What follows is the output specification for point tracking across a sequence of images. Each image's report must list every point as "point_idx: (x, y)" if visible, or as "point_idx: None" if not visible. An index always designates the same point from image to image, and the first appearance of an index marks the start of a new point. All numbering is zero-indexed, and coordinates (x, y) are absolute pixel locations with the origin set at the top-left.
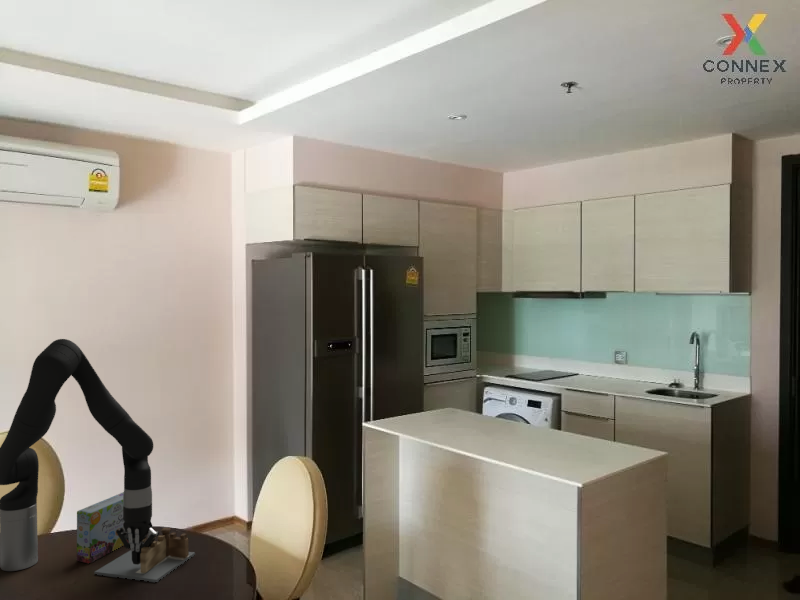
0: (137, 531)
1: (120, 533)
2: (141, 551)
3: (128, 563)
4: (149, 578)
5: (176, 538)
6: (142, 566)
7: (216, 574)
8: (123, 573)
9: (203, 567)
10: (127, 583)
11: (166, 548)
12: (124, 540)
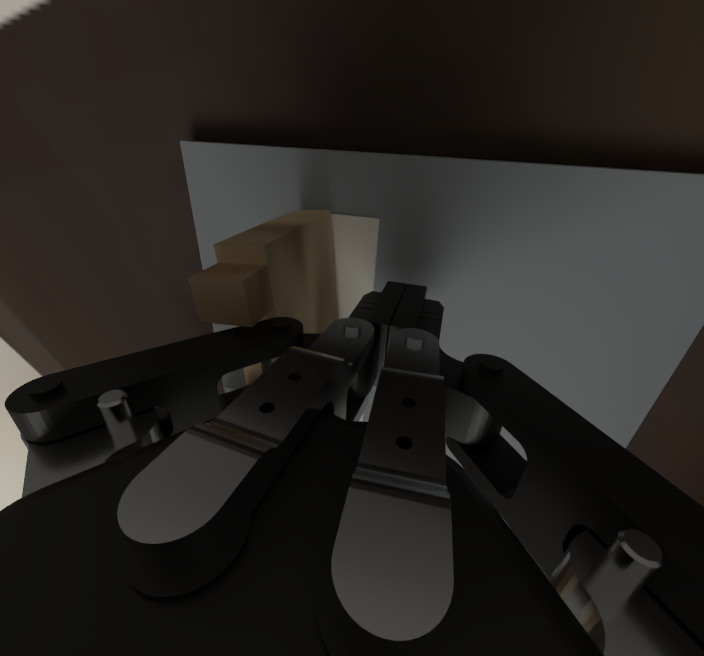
0: (178, 477)
1: (678, 549)
2: (258, 270)
3: (511, 346)
4: (233, 150)
5: None
6: (299, 219)
7: (37, 281)
8: (465, 191)
9: (129, 339)
10: (369, 79)
11: None
12: (541, 423)
